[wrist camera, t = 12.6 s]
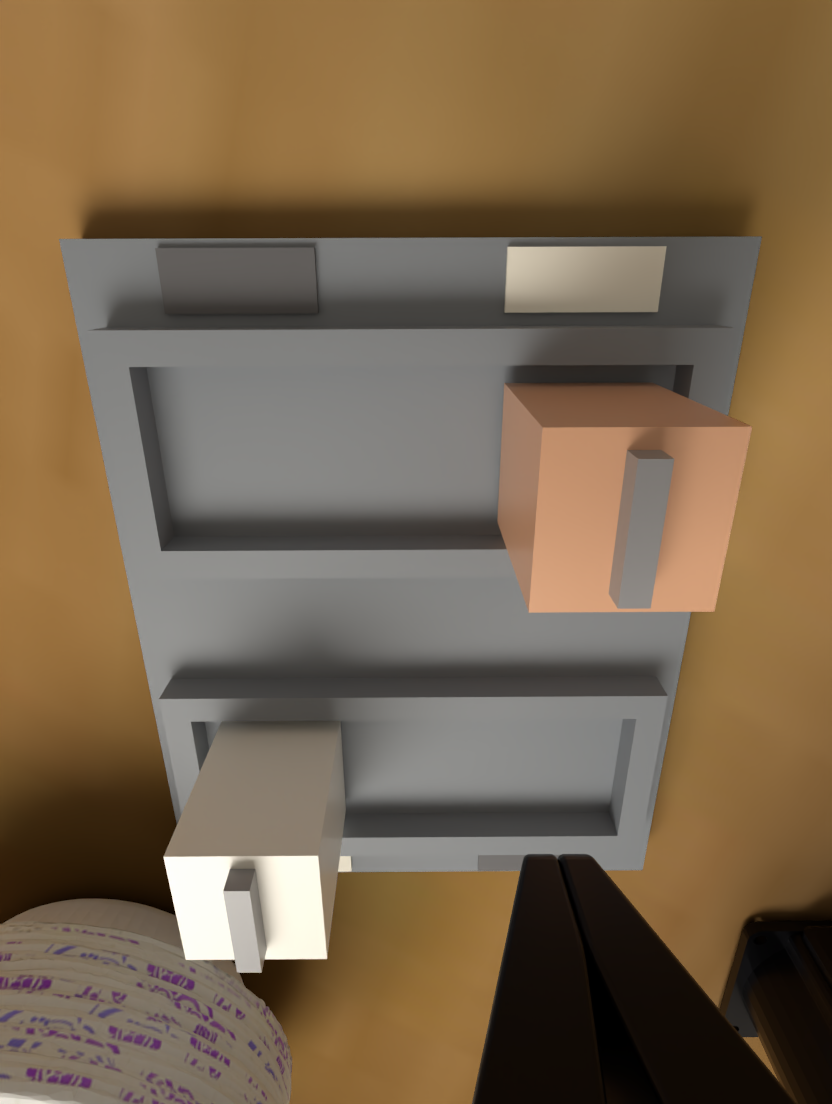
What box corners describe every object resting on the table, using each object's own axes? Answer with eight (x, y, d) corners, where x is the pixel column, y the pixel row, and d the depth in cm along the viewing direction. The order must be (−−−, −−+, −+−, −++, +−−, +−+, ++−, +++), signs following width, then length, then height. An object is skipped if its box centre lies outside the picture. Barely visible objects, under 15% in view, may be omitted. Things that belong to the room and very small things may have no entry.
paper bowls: (296, 1096, 30) (258, 1364, 22) (-43, 1071, 29) (-199, 1341, 21) (322, 857, 24) (282, 1116, 16) (-105, 817, 23) (-349, 1071, 15)
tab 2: (632, 521, 17) (728, 627, 12) (497, 521, 17) (534, 628, 12) (652, 382, 16) (770, 434, 10) (504, 383, 16) (549, 435, 10)
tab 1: (345, 808, 21) (323, 982, 16) (235, 810, 21) (177, 983, 16) (340, 719, 20) (314, 877, 14) (222, 720, 20) (153, 879, 14)
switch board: (633, 846, 23) (652, 895, 22) (195, 849, 23) (176, 898, 22) (740, 239, 16) (785, 233, 14) (80, 241, 15) (35, 236, 14)
